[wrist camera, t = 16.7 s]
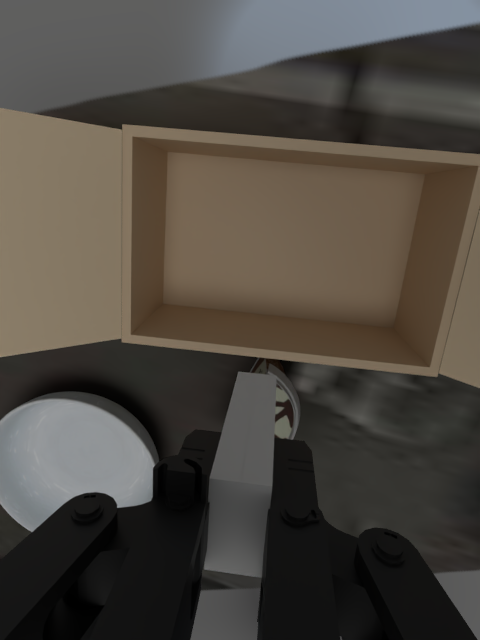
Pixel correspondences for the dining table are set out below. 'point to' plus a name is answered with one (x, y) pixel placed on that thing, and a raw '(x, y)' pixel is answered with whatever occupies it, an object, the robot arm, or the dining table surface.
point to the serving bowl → (72, 455)
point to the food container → (281, 398)
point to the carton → (294, 247)
